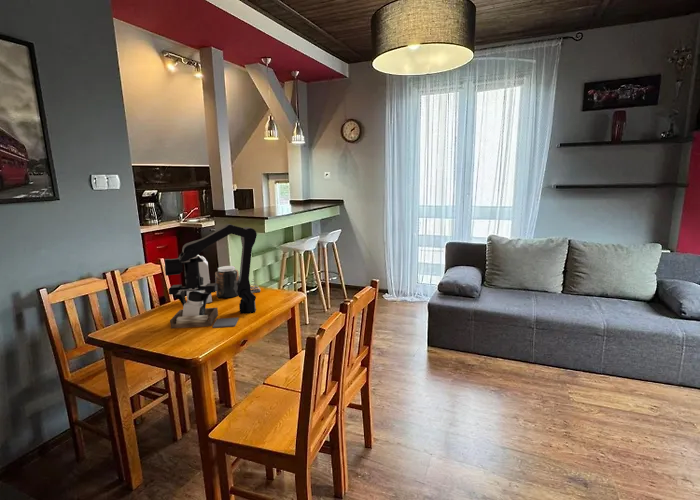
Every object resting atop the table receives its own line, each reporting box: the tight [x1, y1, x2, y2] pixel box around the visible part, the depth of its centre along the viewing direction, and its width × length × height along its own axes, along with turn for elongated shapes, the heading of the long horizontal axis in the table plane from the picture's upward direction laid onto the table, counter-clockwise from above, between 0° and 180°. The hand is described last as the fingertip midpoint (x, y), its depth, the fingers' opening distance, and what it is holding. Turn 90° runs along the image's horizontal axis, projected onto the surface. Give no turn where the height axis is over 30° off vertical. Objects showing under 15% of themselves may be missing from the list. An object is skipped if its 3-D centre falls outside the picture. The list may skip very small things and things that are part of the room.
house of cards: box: [250, 278, 262, 294], centre depth 206 cm, size 9×9×8 cm
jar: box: [214, 265, 240, 299], centre depth 198 cm, size 12×12×15 cm
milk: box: [186, 254, 213, 304], centre depth 188 cm, size 12×12×26 cm
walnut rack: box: [169, 307, 219, 329], centre depth 160 cm, size 16×13×4 cm
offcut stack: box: [176, 315, 209, 324], centre depth 156 cm, size 12×2×4 cm, turn 100°
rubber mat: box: [212, 317, 239, 329], centre depth 158 cm, size 9×9×1 cm
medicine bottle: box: [182, 291, 207, 316], centre depth 161 cm, size 7×7×12 cm
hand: (195, 307), depth 161 cm, fingers closed on medicine bottle, 7 cm apart
